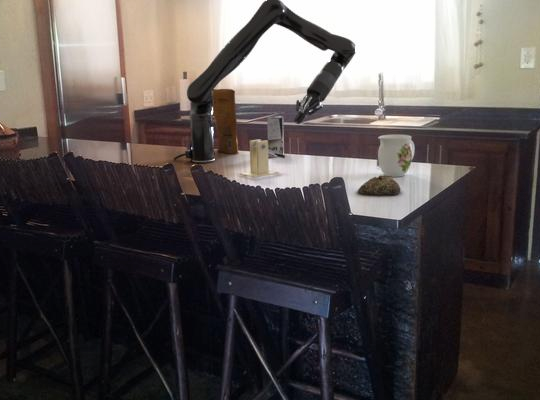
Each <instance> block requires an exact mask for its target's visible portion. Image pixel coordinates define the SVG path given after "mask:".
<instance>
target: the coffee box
mask: <svg viewBox="0 0 540 400" xmlns="http://www.w3.org/2000/svg"><path fill="white" fill-rule="evenodd" d="M266 120H267V121H266V122H267V125H266V126H267V141H268V149H270V150H272V151H274V152H276V153H278V154H282V155H284V154H285V135H284V115H273V116H268V117H267V118H266ZM268 158H275V157H274V156H272V154H271V153H269V152H268Z"/></svg>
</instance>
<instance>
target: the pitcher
mask: <svg viewBox="0 0 540 400" xmlns="http://www.w3.org/2000/svg"><path fill="white" fill-rule="evenodd" d="M377 139H378V140H379V141H380V145H379V147H378V151H377V157H378V158H377V160H378V164H379V167H380V170H381V172H382V173H383V176H386V177H390V178H392V177H395V178H396V177H404V176H405V175H406V174H407V173H408V171H409V169H410V167H411V164H412V161H413V159H414V157H415V148H416V146H415V143H414V141H413V140H412V136H411V135H408V134H384V135H383V134H382V135H379V136H378V137H377Z"/></svg>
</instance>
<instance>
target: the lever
mask: <svg viewBox="0 0 540 400" xmlns="http://www.w3.org/2000/svg"><path fill="white" fill-rule="evenodd" d="M256 142H259V141H255V143H254V146H253V147H254V148H256V149H257V147H256ZM268 152H269V153H271V154H272V156H274V157H273V158H279V159H285V157H286V155H284V154H283V155H282V154H278V153H276V152H274V151H272V150H270V149H268Z"/></svg>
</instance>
